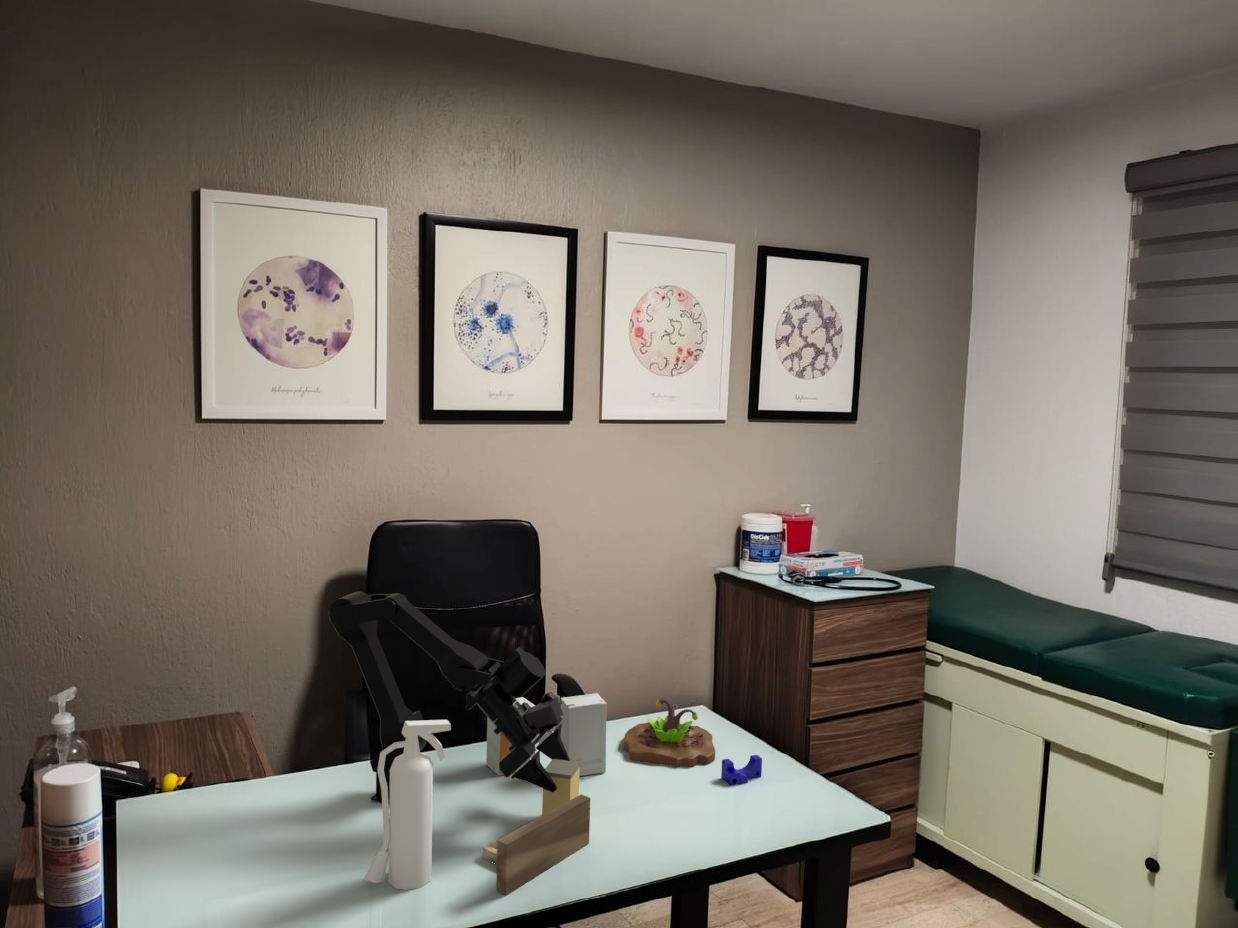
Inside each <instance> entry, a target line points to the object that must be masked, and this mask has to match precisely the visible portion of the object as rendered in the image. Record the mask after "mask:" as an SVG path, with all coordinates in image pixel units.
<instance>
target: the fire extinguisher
mask: <svg viewBox="0 0 1238 928" xmlns="http://www.w3.org/2000/svg"><path fill="white" fill-rule="evenodd" d="M451 725H452V724H451V722H450V721H449V720H448V719H429V720H428V719H427V720H424V719H423V720H421V721H405V723H404V726H403V729H402V732H401V733H402V734H403V736H404V737H406V740H405V741H401V742H395V743H393V744H392V745H390V746H389V747H387V748H386V749H384V750H383V749H382V750H383V751H382V752H380V751H379V752H380V757H379V763H378V768H377V771H378V776H379V781H380V786H381V793H382V802H381V808H382V822H383V823H382V825H383V841H382V844H381V847H380V851H378V852H376V854H375V855H374V858H373V860H372V862H371V864H370V865H369V867H368V870H367V871H366V873H365V876H364V880H365V881H369V882H371V883H374V884H379V883H381V882H384V881H385V877H386V873H387V872H386V871H387V866H388V883H389V884H390V885H391V886H392V887H393V888H394V889H400V890H404V891H405V890H406V891H409V890H414V889H415V890H416V889H419V888H422V887H423V886H426V884H428V883H430V882H431V877H432V866H433V865H432V863H433V862H432V861H433V860H432V855H433V854H432V853H433V851H432V850H433V848H432V847H433V798H434V797H433V793H434V791H433V785H434V773H433V772H434V763H433V761H432V759H431V757H430V756H429V755H428V754H426V753H424V752H421V750H420V749H419V742H418V735H419V736H420V737H422V738H423V739H425V740H427V741H426V742H428V743H429V744H430V745H431V746H432V748H434V749H435V752H436V754H437V757H438V760H439V761H440V762H441V761H442V760H443V759H445V758H446V754H445V751H444V748H443V745H442V743H441V742H440V741H439V739H437V737H436V736H435V735H434V734H436V733H441V732H449V731H451V730H452V727H451ZM402 747H404V752H403V754H402V755H399V756H397V757H395V759H394V761H393V763H392V766H391V768H390V804H389V803H388V786H387V782H386V778H385V774H384V765H385V757H386V755H387V754H388V753H390V752H391V751H393V750H394V749H396V748H402ZM387 850H388V851H387Z"/></svg>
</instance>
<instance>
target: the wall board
mask: <svg viewBox="0 0 1238 928" xmlns="http://www.w3.org/2000/svg"><path fill="white" fill-rule="evenodd" d="M590 818H591V797H589V796H587V795H584V794H581V793H580V794H579V796H577V797H575V798H574V799H572V800H570V801H568V802H566V803H564V804H563V805H561V806H559V807H557V808H555V809H554V810H552V811H550V812H548V813H546V814H544V815H543V816H542V815H541V816H539V817H537V818H536V819H533V820H532V821H530V822H528V823H526V824H525V825H524V824H523V825H522V826H520V827H519V828H516V829H515V830H513V831H510V832H509V833H508V834H506V835H503V836H502V837H500V838H498V839H497V840H495V841H493V842H491V843H488V844H487V845H485V846H483V847H482V859H483V858H484V859H483V860H485V859H486V861H487V860H488V861H487V862H490V861H491V862H490V863H492V862H493V863H492V864H494V863H495V864H494V865H496V864H497V865H496V885H495V886H496V887H495V889H496V890H495V891H496V892H497V893H499V894H502V895H503V896H508V895H509V894H511V893H512V892H514V891H517V890H518V889H519V888H521V887H522V886H524V885H526V884H527V883H528V882H530V881H532V880H533V879H535V878H536V876H537V877H538V876H540V875H542V874H543V873H544V871H545V872H546V871H548V870H549V869H551V868H552V867H554V866H556V865H557V864H559V863H560V862H562V861H564V860H565V859H567V858H568V857H570V856H572V855H573V854H575V853H576V852H578V851H580V850H581V849H582V848H584V847H586V846H587V845H588V844H590V822H591V820H590ZM569 855H570V856H569ZM539 874H540V875H539Z"/></svg>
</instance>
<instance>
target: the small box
mask: <svg viewBox="0 0 1238 928" xmlns="http://www.w3.org/2000/svg"><path fill="white" fill-rule="evenodd" d="M515 699H516V700H517V701H518V702H519V703H520V704H523V703H524V702H525V703H528V704H529V705H530V707H533V706H536V705H535V704H534V703H532V702H531V701H529V700H528V699H526V698H525V697H523V696H519V697H515ZM486 717H487V716H486ZM497 719H498V718H497ZM497 719H496V720H497ZM496 720H495V721H496ZM495 721H494V722H495ZM494 722H492V721H491V720H490V719H489V718H488V717H487V721H486V725H487V726H486V766H487V767H488V768H490V769H491V770H492V772H494V774H496V775H498V777H500V776H504V775H503V774H502V773H501V772H500V771H499V762H500V761H501V760H502V759H503V758H504V757H505V756H506V755H507V754H508V753H509V752H510V750H509V748H510V747H511V744H510V742H509V741H508V740H507V739H506V738H505V737H504V735H503V734H502V733H501V732H500V733H499V734H498V735H496V733H495V732H494V730H495V729H496V728H497V727H496V726H495V725H494V724H493V723H494ZM535 753H536V751H535V752H534V754H535ZM513 773H515V771H514V772H513Z"/></svg>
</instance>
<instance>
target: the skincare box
mask: <svg viewBox="0 0 1238 928" xmlns="http://www.w3.org/2000/svg"><path fill="white" fill-rule="evenodd" d="M560 700H562V704H561V705H560V706H561V709H562V711H563V713H564V715H563V716H561V718H562V721H561V722H560V724H562V728H561V740H562V742H563V745H564V747H565V750H566V752H567V754H568V756H569V758H570V761H573V762H580V770H579V777H582V776H590V775H596V774H602V773H606V772H607V771H606V770H607V767H606V766H607V763H606V761H607V755H606V754H607V753H606V752H607V707H608V706H607V705H608V703H607V702H606V701H605V700H604V699H603V698H602V697H601V696H600V694H599V693H598V692H595V693H590V694H587V693H586V694H582V695H581V694H579V695H574V696H567V697H564V696H563V697H560Z"/></svg>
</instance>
